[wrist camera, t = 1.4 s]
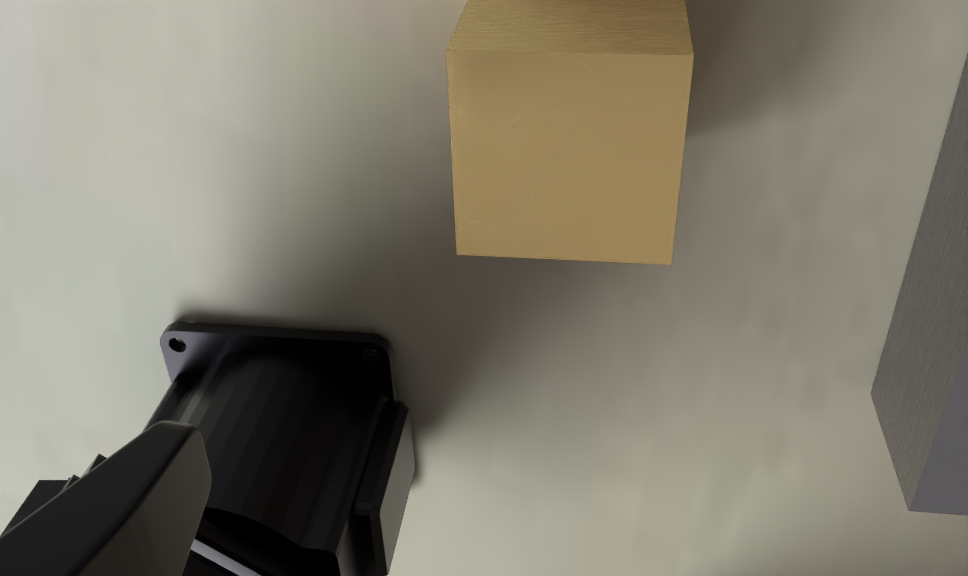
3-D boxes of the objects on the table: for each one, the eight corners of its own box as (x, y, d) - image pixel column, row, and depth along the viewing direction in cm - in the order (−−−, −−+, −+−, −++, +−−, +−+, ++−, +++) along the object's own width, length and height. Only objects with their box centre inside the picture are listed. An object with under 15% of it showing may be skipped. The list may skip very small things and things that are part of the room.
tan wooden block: (488, 138, 21) (456, 254, 17) (484, -37, 19) (446, 50, 15) (662, 143, 21) (671, 264, 17) (678, -35, 19) (693, 55, 15)
